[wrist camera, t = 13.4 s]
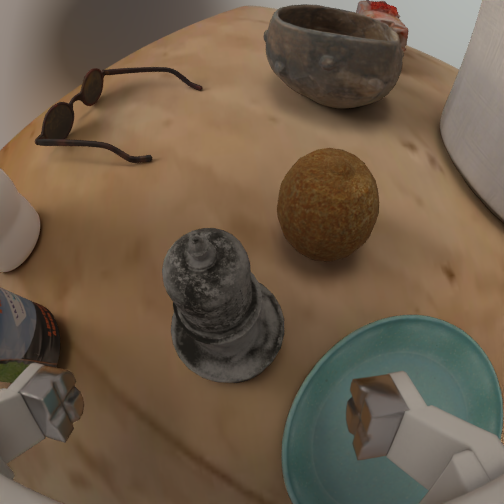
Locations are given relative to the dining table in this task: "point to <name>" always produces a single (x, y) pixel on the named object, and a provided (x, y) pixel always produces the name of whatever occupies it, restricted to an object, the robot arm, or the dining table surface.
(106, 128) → the dining table surface
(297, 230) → the fruit
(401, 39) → the food item
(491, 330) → the dining table surface
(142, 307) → the dining table surface
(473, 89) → the planter
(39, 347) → the beverage can
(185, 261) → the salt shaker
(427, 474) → the robot arm
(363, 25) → the bowl
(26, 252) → the water bottle
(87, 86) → the eyeglasses
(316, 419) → the saucer
